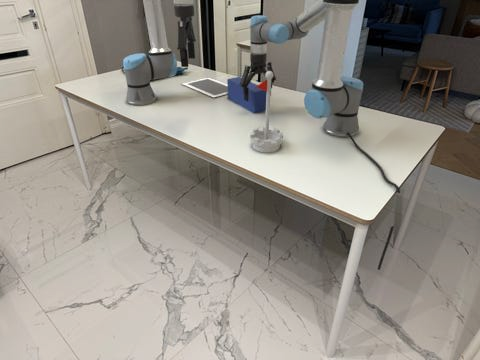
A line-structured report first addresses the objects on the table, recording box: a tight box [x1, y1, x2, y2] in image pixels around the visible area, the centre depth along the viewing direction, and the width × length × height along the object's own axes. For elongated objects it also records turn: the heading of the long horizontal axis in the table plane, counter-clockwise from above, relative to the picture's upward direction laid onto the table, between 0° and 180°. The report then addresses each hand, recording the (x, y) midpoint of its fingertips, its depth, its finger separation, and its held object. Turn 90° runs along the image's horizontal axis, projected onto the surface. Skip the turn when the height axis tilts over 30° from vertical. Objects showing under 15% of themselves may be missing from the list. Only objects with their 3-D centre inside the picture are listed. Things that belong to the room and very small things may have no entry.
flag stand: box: [249, 70, 284, 153], centre depth 129 cm, size 13×13×30 cm
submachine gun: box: [152, 66, 189, 81], centre depth 223 cm, size 34×4×25 cm
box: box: [226, 76, 267, 114], centre depth 175 cm, size 25×8×11 cm, turn 33°
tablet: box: [181, 77, 228, 99], centre depth 200 cm, size 32×20×1 cm, turn 41°
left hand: (188, 62), depth 140 cm, fingers open, 13 cm apart
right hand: (257, 97), depth 167 cm, fingers open, 13 cm apart
